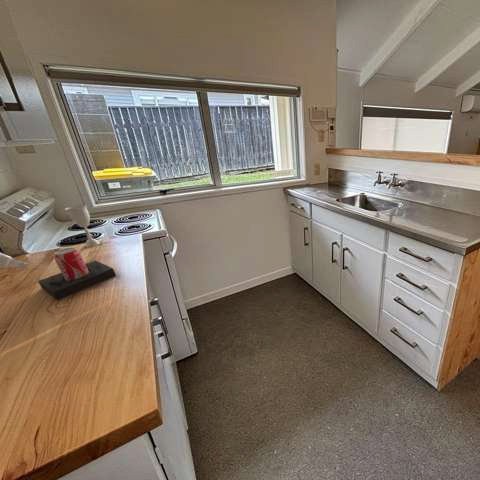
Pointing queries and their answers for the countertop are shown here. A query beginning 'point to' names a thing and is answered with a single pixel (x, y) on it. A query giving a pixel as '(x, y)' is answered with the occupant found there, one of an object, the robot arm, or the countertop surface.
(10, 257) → the robot arm
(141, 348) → the countertop surface
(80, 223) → the chalice
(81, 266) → the beverage can
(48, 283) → the dock pad
